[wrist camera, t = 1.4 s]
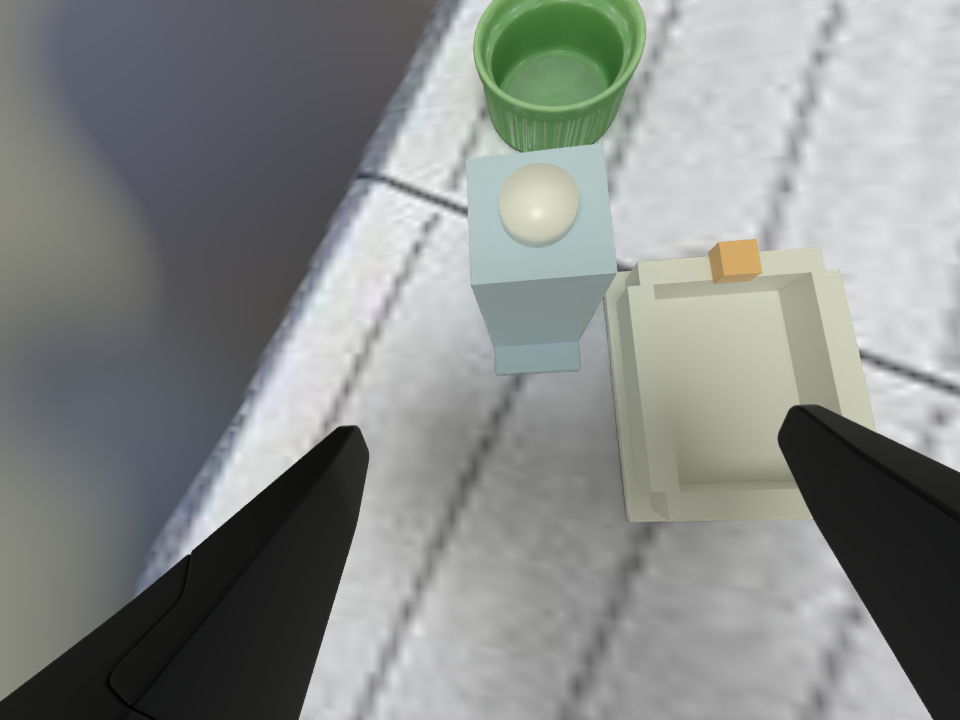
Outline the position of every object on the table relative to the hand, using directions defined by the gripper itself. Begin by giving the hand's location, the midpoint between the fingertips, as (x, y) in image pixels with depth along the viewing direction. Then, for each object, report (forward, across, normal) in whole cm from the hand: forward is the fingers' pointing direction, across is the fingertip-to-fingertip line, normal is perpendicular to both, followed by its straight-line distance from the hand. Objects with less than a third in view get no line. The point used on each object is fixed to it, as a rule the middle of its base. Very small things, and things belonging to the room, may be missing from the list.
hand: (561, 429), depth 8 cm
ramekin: (+24, -2, -5) cm, 24 cm away
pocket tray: (+10, -9, +8) cm, 16 cm away
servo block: (+14, 0, +4) cm, 15 cm away
